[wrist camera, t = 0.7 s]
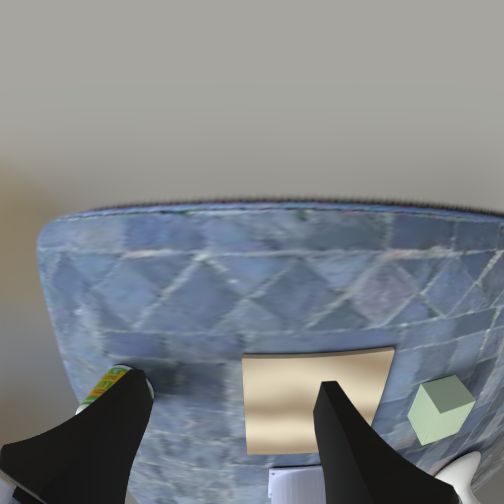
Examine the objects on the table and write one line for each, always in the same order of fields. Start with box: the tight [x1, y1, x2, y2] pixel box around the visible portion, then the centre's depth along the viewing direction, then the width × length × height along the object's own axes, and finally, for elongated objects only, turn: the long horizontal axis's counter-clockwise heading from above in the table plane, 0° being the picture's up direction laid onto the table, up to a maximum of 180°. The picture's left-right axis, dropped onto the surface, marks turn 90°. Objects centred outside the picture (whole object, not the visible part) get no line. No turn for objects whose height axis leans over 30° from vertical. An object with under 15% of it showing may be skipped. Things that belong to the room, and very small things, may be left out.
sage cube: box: [408, 375, 476, 445], centre depth 20 cm, size 5×5×5 cm
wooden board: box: [242, 347, 395, 454], centre depth 22 cm, size 14×13×1 cm
